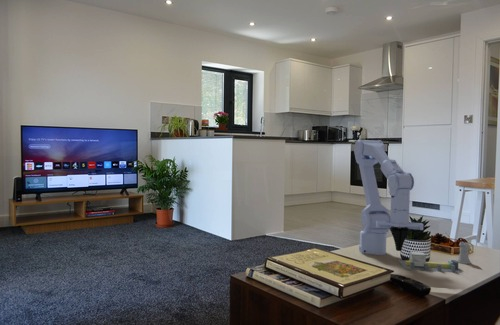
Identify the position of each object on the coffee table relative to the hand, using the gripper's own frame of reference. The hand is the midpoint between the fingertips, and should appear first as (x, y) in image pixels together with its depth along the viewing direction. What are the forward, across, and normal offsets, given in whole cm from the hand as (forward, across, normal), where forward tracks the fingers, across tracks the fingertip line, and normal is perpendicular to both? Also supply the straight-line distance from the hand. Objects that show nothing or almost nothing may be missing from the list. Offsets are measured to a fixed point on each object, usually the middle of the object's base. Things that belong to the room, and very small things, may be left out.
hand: (398, 250), depth 123 cm
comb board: (+6, +10, 0) cm, 11 cm away
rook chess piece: (+6, +23, +8) cm, 25 cm away
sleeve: (+5, +6, 0) cm, 8 cm away
